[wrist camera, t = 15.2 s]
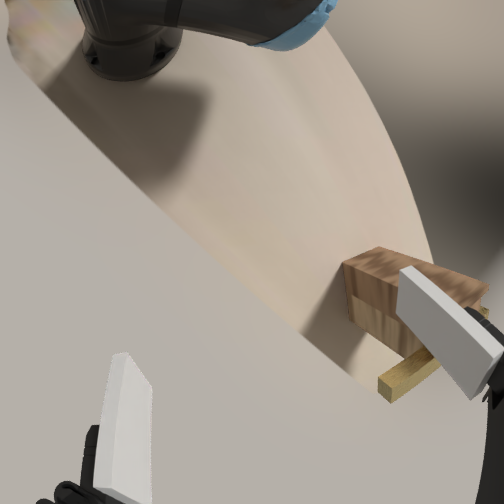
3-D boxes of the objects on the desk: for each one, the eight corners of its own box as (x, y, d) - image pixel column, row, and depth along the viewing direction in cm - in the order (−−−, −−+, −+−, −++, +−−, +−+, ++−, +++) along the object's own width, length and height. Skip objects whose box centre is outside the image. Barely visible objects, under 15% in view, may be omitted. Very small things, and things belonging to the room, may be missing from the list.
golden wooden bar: (374, 392, 34) (393, 410, 30) (374, 370, 33) (396, 388, 29) (466, 322, 39) (485, 332, 35) (469, 300, 38) (489, 309, 34)
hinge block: (349, 319, 54) (443, 385, 31) (342, 262, 51) (455, 314, 27) (383, 301, 56) (477, 353, 33) (378, 246, 53) (489, 284, 29)
